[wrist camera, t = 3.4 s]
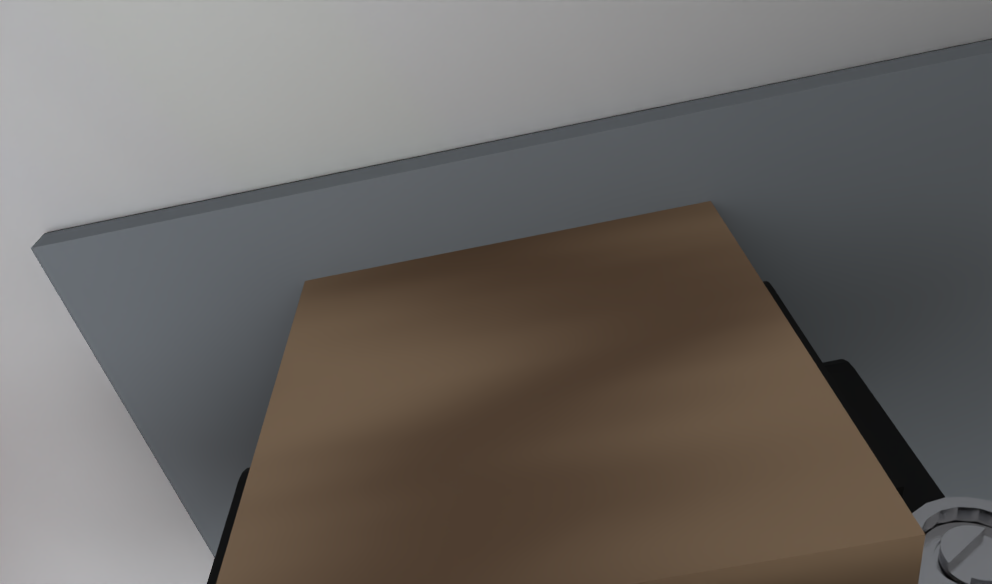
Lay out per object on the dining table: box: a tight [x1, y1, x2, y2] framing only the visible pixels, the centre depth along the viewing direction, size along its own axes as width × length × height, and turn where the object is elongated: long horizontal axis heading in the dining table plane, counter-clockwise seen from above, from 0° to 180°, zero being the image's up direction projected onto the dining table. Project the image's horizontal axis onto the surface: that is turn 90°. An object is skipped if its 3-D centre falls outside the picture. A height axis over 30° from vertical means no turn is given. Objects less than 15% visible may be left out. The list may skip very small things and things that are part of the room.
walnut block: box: [216, 201, 925, 584], centre depth 10 cm, size 6×6×6 cm
